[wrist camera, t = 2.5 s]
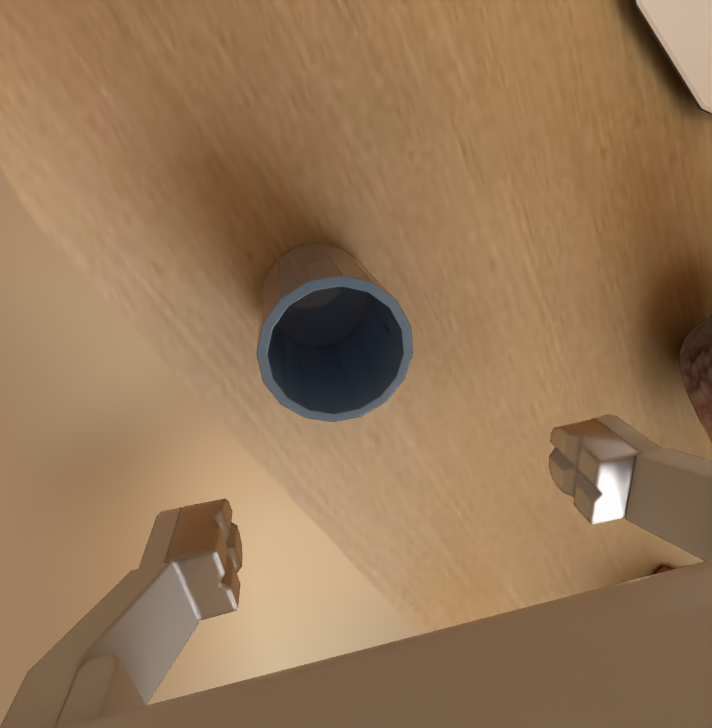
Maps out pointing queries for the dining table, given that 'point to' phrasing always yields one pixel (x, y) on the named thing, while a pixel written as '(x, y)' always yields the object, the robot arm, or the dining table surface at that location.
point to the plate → (684, 41)
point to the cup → (330, 335)
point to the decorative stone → (699, 371)
